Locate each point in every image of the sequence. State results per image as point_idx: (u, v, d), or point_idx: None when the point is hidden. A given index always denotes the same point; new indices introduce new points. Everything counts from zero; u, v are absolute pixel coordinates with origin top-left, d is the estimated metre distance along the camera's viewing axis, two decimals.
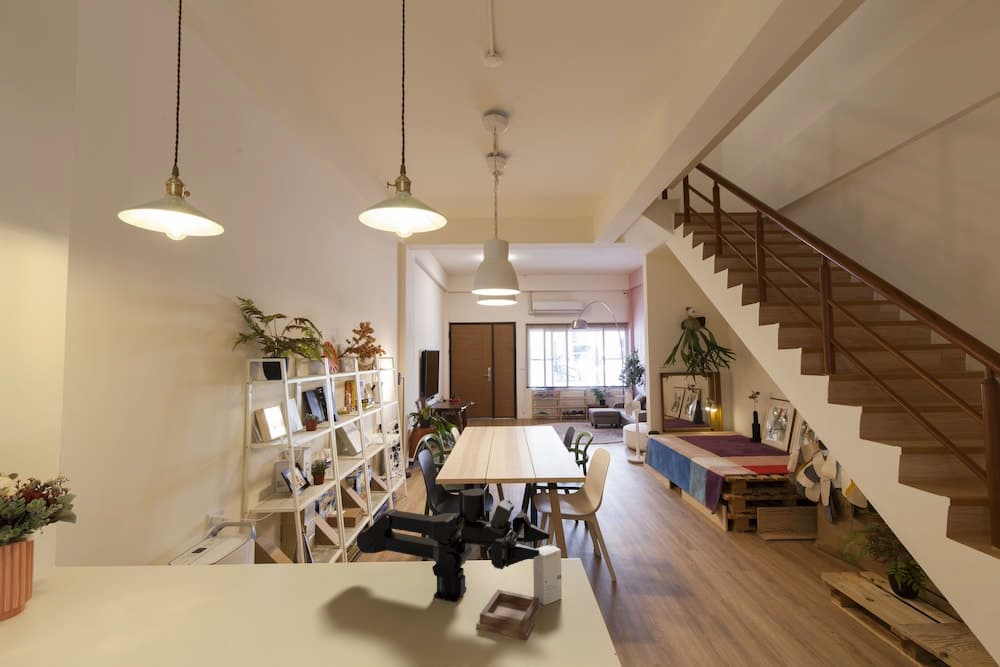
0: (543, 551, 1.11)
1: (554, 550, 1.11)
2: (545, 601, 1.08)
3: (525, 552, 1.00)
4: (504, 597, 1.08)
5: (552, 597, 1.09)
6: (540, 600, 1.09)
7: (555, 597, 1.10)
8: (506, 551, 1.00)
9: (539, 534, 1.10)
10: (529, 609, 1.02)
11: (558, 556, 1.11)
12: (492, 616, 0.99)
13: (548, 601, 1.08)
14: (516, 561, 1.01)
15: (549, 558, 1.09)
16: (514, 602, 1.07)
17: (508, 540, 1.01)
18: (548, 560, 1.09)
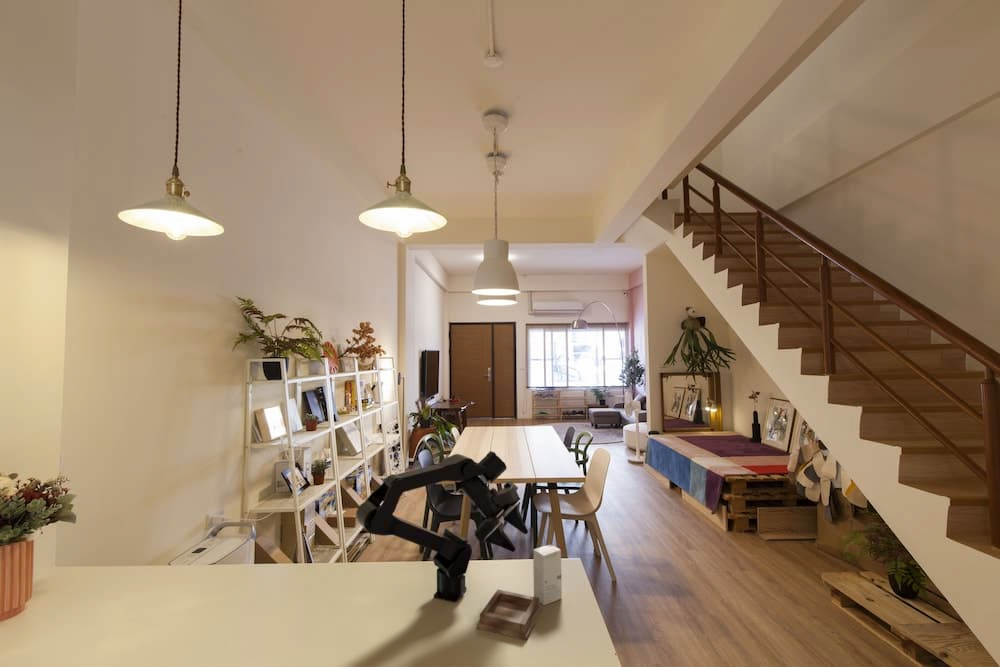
0: (543, 551, 1.11)
1: (554, 550, 1.11)
2: (545, 601, 1.08)
3: (505, 543, 1.09)
4: (504, 597, 1.08)
5: (552, 597, 1.09)
6: (540, 600, 1.09)
7: (555, 597, 1.10)
8: (492, 533, 1.08)
9: (520, 525, 1.18)
10: (529, 609, 1.02)
11: (558, 556, 1.11)
12: (492, 616, 0.99)
13: (548, 601, 1.08)
14: (493, 542, 1.10)
15: (549, 558, 1.09)
16: (514, 602, 1.07)
17: (499, 527, 1.08)
18: (548, 560, 1.09)
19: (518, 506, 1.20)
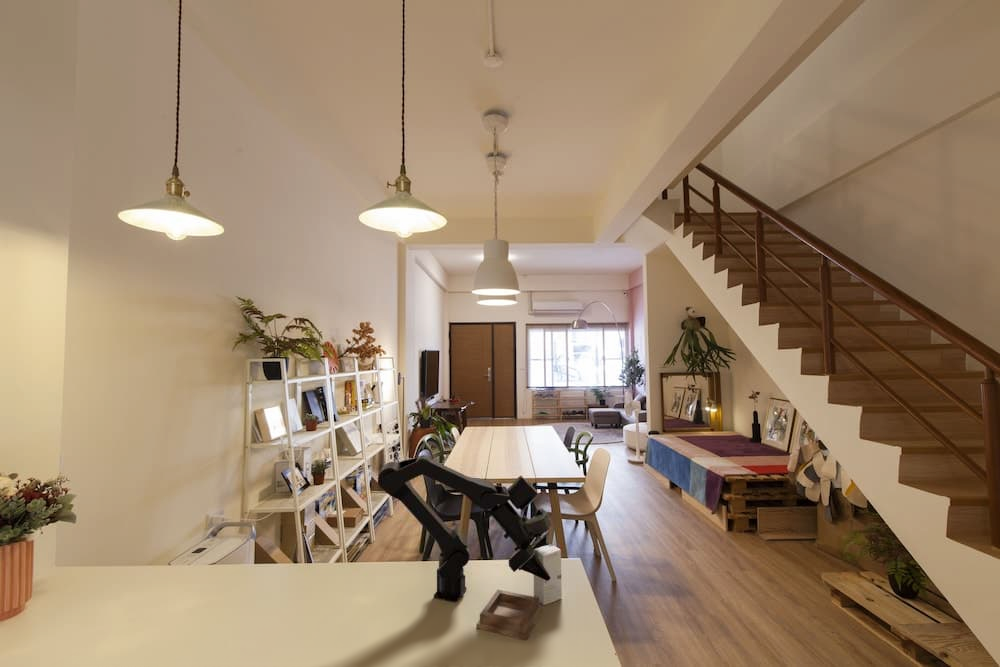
0: (543, 551, 1.10)
1: (554, 550, 1.11)
2: (545, 601, 1.08)
3: (540, 571, 1.07)
4: (504, 597, 1.08)
5: (552, 597, 1.09)
6: (540, 600, 1.09)
7: (555, 597, 1.10)
8: (528, 561, 1.06)
9: None
10: (529, 609, 1.02)
11: (558, 556, 1.11)
12: (492, 616, 0.99)
13: (548, 601, 1.08)
14: (528, 571, 1.08)
15: (549, 558, 1.09)
16: (514, 602, 1.07)
17: (535, 554, 1.06)
18: (548, 560, 1.09)
19: (547, 536, 1.17)
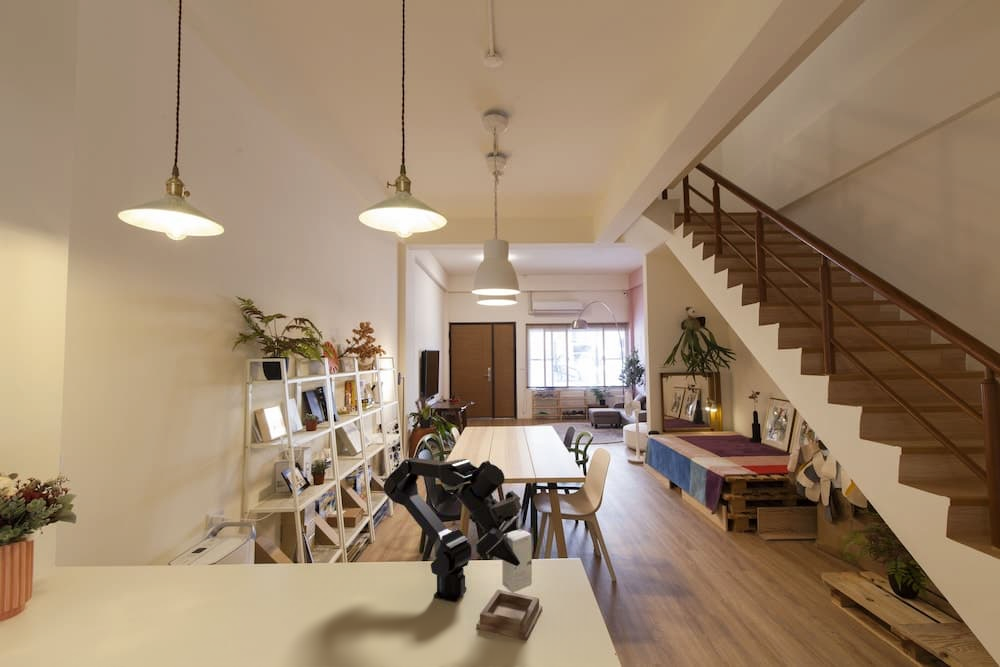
0: (513, 536, 1.05)
1: (524, 535, 1.05)
2: (514, 588, 1.02)
3: (509, 556, 1.01)
4: (504, 597, 1.08)
5: (521, 584, 1.03)
6: (509, 587, 1.03)
7: (525, 583, 1.04)
8: (496, 545, 1.00)
9: None
10: (529, 609, 1.02)
11: (528, 541, 1.05)
12: (492, 616, 0.99)
13: (517, 588, 1.03)
14: (496, 556, 1.01)
15: (519, 543, 1.03)
16: (514, 602, 1.07)
17: (504, 538, 1.00)
18: (518, 545, 1.03)
19: (517, 520, 1.11)
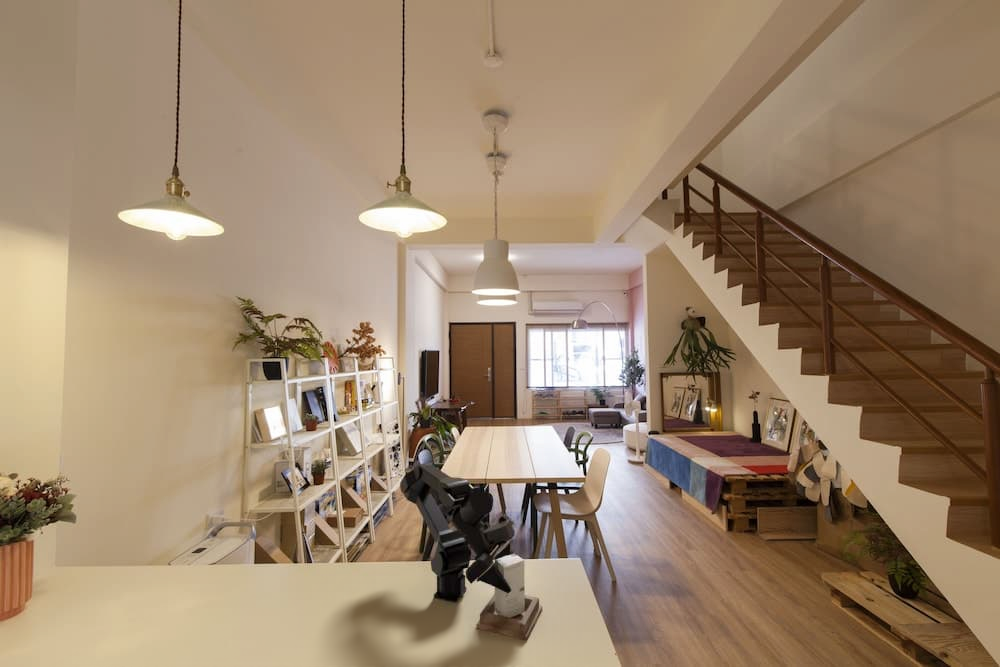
0: (505, 561, 1.02)
1: (516, 560, 1.03)
2: (505, 615, 1.00)
3: (499, 583, 0.99)
4: None
5: (513, 611, 1.01)
6: (501, 614, 1.01)
7: (517, 610, 1.02)
8: (486, 572, 0.98)
9: None
10: (529, 609, 1.02)
11: (521, 567, 1.03)
12: (492, 616, 0.99)
13: (509, 615, 1.01)
14: (487, 582, 1.00)
15: (511, 569, 1.01)
16: None
17: (495, 565, 0.98)
18: (509, 572, 1.01)
19: (511, 544, 1.09)
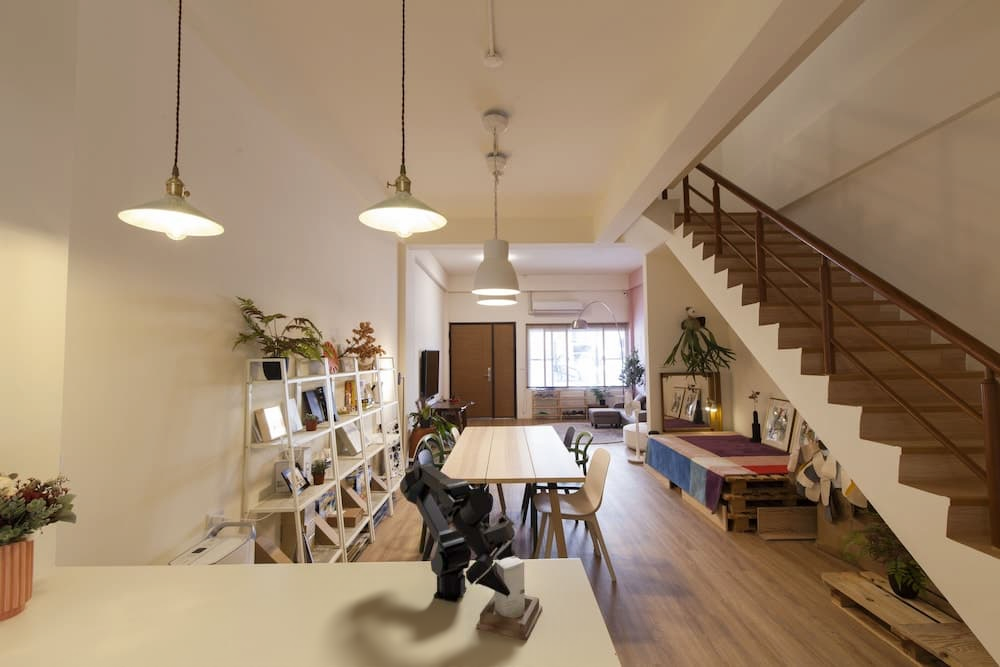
0: (505, 563, 1.03)
1: (516, 562, 1.03)
2: None
3: (498, 585, 0.98)
4: None
5: (513, 613, 1.01)
6: None
7: (517, 613, 1.02)
8: (485, 575, 0.97)
9: None
10: (529, 609, 1.02)
11: (521, 569, 1.03)
12: (492, 616, 0.99)
13: (509, 617, 1.01)
14: (485, 585, 0.99)
15: (511, 571, 1.02)
16: None
17: (493, 567, 0.97)
18: (509, 573, 1.01)
19: (513, 543, 1.10)
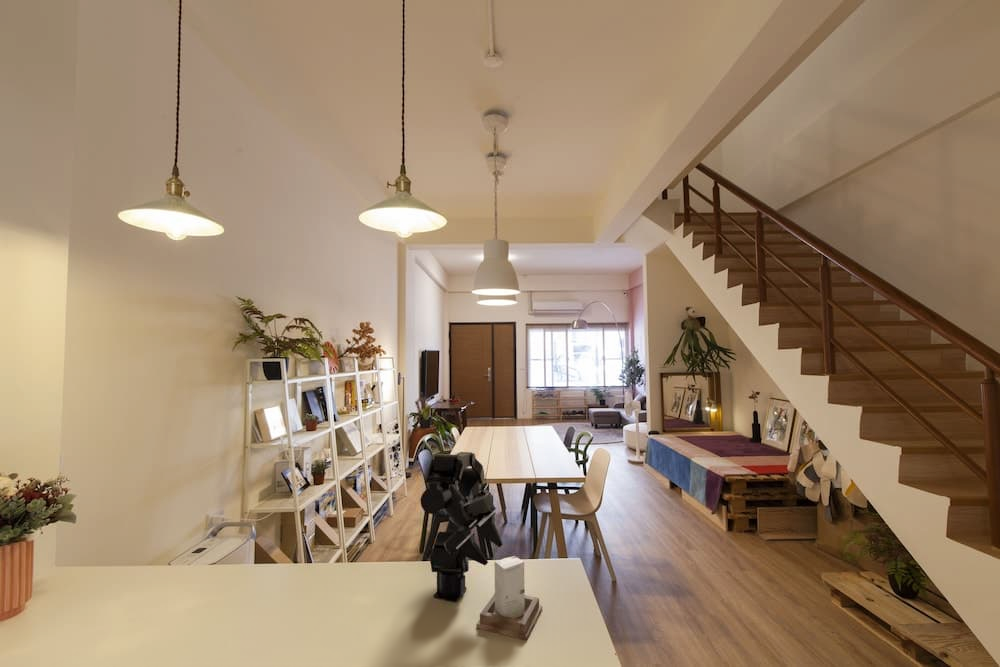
0: (505, 563, 1.03)
1: (516, 562, 1.03)
2: None
3: (476, 555, 1.01)
4: None
5: (513, 613, 1.01)
6: None
7: (517, 613, 1.02)
8: (463, 544, 1.00)
9: (494, 537, 1.11)
10: (529, 609, 1.02)
11: (521, 569, 1.03)
12: (492, 616, 0.99)
13: (509, 617, 1.01)
14: (464, 554, 1.02)
15: (511, 571, 1.02)
16: None
17: (471, 537, 1.01)
18: (509, 573, 1.01)
19: (493, 516, 1.13)
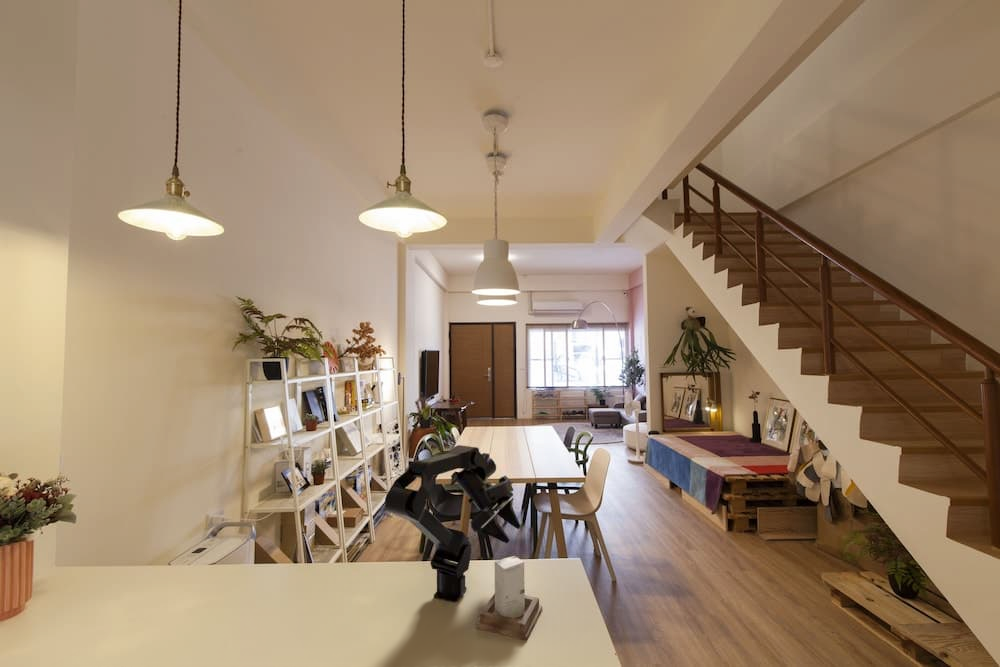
0: (505, 563, 1.03)
1: (516, 562, 1.03)
2: None
3: (499, 534, 1.12)
4: None
5: (513, 613, 1.01)
6: None
7: (517, 613, 1.02)
8: (487, 524, 1.11)
9: (513, 520, 1.22)
10: (529, 609, 1.02)
11: (521, 569, 1.03)
12: (492, 616, 0.99)
13: (509, 617, 1.01)
14: (488, 533, 1.13)
15: (511, 571, 1.02)
16: None
17: (494, 517, 1.11)
18: (509, 573, 1.01)
19: (511, 501, 1.24)
